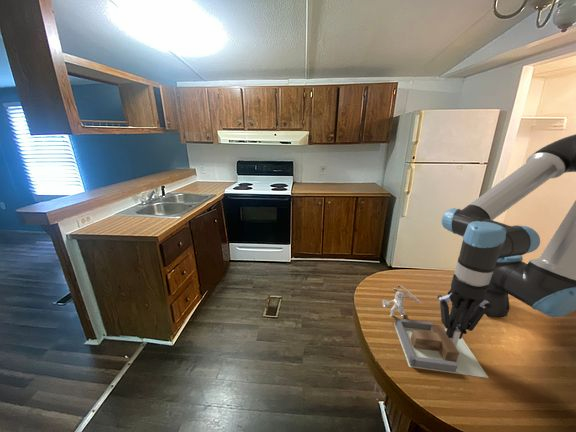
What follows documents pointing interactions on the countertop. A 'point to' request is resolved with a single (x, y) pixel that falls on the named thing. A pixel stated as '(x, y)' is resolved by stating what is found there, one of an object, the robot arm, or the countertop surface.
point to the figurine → (396, 304)
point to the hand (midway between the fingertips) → (450, 345)
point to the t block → (435, 342)
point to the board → (435, 352)
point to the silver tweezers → (407, 295)
